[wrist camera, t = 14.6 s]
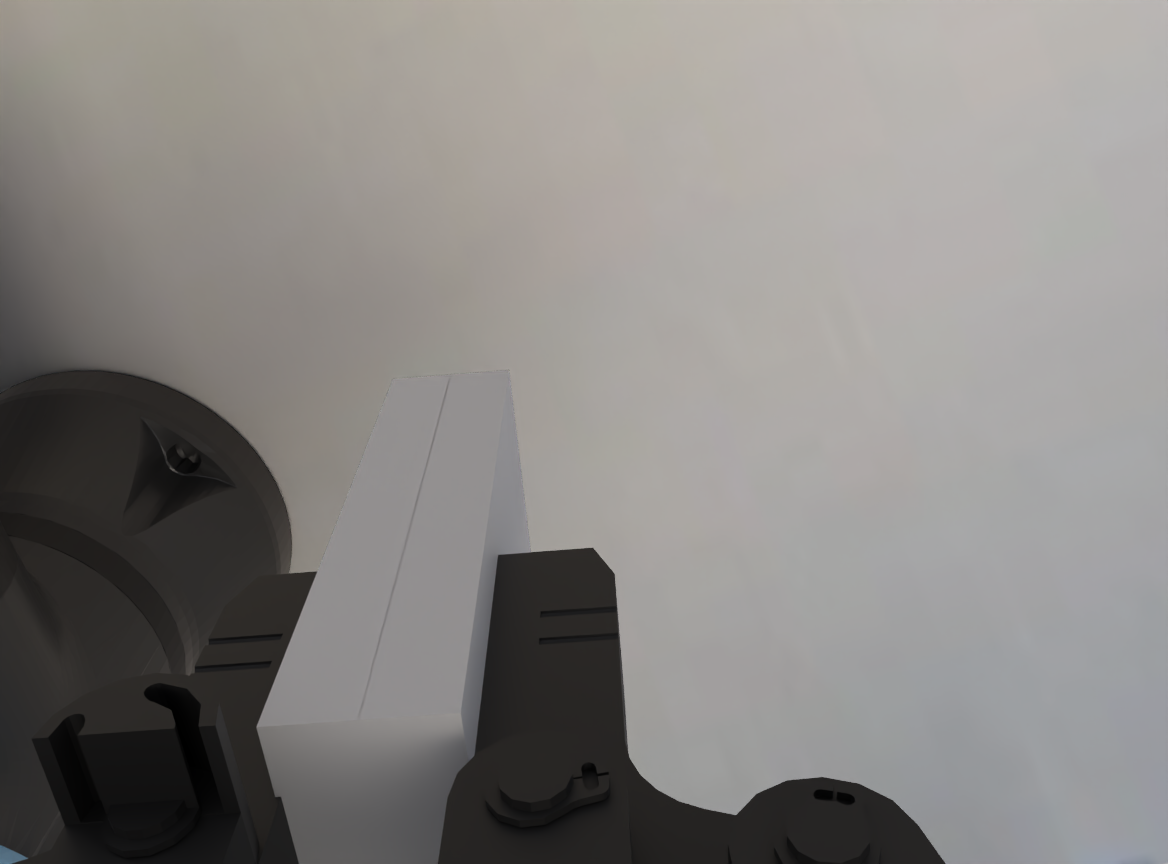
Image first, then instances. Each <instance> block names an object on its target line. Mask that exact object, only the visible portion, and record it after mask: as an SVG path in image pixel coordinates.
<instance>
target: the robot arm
mask: <svg viewBox="0 0 1168 864" xmlns="http://www.w3.org/2000/svg"><path fill="white" fill-rule="evenodd" d="M291 551H292V543H291V531H290V524H289V519H288V515H287V511H286V508H285V505H284V502H283V499H282V497H281V494H280V492H279V490H278V488H277V485H276V483H275V481H274V480H273V478H272V476H271V474H270V473H269V471H268V469H267V468H266V466H265V465H264V463H263V462H262V460H261V459H260V458H259V456H258V455H257V454H256V453H255V451H254V450H253V449H252V448H251V447H250V446H249V444H248V443H247V442H246V441H245V440H244V439H243V438H242V437H241V436H240V435H239V434H238V433H237V432H236V431H235V430H234V429H233V428H232V427H230V426H229V425H228V424H227V423H226V422H224V421H223V420H222V419H221V418H219V417H218V416H217V415H215V414H214V413H213V412H211V411H210V410H208V409H207V408H205V407H204V406H202V405H201V404H199V403H197V402H195V401H194V400H192V399H190V398H188V397H186V396H184V395H182V394H180V393H178V392H176V391H174V390H171V389H169V388H167V387H164V386H162V385H159V384H156V383H153V382H150V381H147V380H144V379H140V378H136V377H132V376H127V375H123V374H116V373H109V372H98V371H73V372H62V373H55V374H50V375H45V376H41V377H37V378H34V379H31V380H28V381H25V382H23V383H20V384H18V385H16V386H13V387H11V388H9V389H7V390H6V391H4V392H2V393H1V394H0V864H945V862H944V861H943V860H942V858H941V857H940V855H939V854H938V853H937V851H936V850H935V848H934V847H933V846H932V844H931V843H930V841H929V840H928V839H927V837H926V836H925V834H924V833H923V832H922V830H921V829H920V827H919V826H918V825H917V824H916V823H915V822H914V821H913V820H912V819H911V818H910V817H909V816H908V815H907V814H906V813H905V812H904V811H903V810H902V809H901V808H900V807H899V806H898V805H897V804H896V803H895V802H894V801H893V800H891V799H889V798H887V797H885V796H883V795H881V794H879V793H877V792H875V791H873V790H870V789H868V788H866V787H864V786H862V785H860V784H857V783H851V782H846V781H841V780H835V779H830V778H824V777H819V778H809V779H799V780H789V781H785V782H783V783H781V784H778V785H776V786H774V787H771V788H769V789H767V790H765V791H762V792H760V793H758V794H756V795H755V796H754V797H753V798H752V799H751V800H750V802H749V803H748V804H747V805H746V806H745V807H744V808H743V809H742V810H741V811H740V812H739V813H738V814H737V815H731V814H726V813H721V812H716V811H711V810H706V809H702V808H699V807H696V806H692V805H689V804H685V803H682V802H679V801H677V800H675V799H673V798H671V797H669V796H668V795H666V794H664V793H662V792H660V791H658V790H657V789H655V788H654V787H653V786H652V785H651V784H650V783H649V782H648V781H646V780H645V779H644V778H643V777H642V776H641V775H640V774H639V772H638V771H637V769H636V768H635V766H634V765H633V763H632V761H631V760H630V758H629V754H628V745H627V730H626V715H625V700H624V685H623V673H622V661H621V648H620V636H619V623H618V611H617V598H616V586H615V574H614V573H613V571H612V570H611V569H610V568H609V567H608V565H607V564H606V563H605V562H604V561H603V559H602V558H601V557H600V556H599V555H598V553H597V552H596V551H595V550H594V549H593V548H584V549H571V550H557V551H543V552H531V549H530V541H529V532H528V524H527V516H526V507H525V499H524V490H523V482H522V474H521V465H520V457H519V449H518V440H517V432H516V423H515V415H514V407H513V398H512V390H511V381H510V373H509V370H501V371H488V372H475V373H463V374H450V375H437V376H424V377H412V378H399V379H393V380H392V382H391V385H390V387H389V390H388V392H387V395H386V398H385V400H384V403H383V405H382V408H381V410H380V413H379V415H378V418H377V421H376V423H375V426H374V428H373V431H372V433H371V436H370V438H369V441H368V443H367V446H366V449H365V451H364V454H363V456H362V459H361V461H360V464H359V466H358V469H357V472H356V474H355V477H354V479H353V482H352V484H351V487H350V489H349V492H348V495H347V497H346V500H345V502H344V505H343V507H342V510H341V512H340V515H339V518H338V520H337V523H336V525H335V528H334V530H333V533H332V535H331V538H330V540H329V543H328V546H327V548H326V551H325V553H324V556H323V558H322V561H321V563H320V566H319V569H318V571H317V572H304V573H291V574H289V569H290V563H291Z"/></svg>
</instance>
